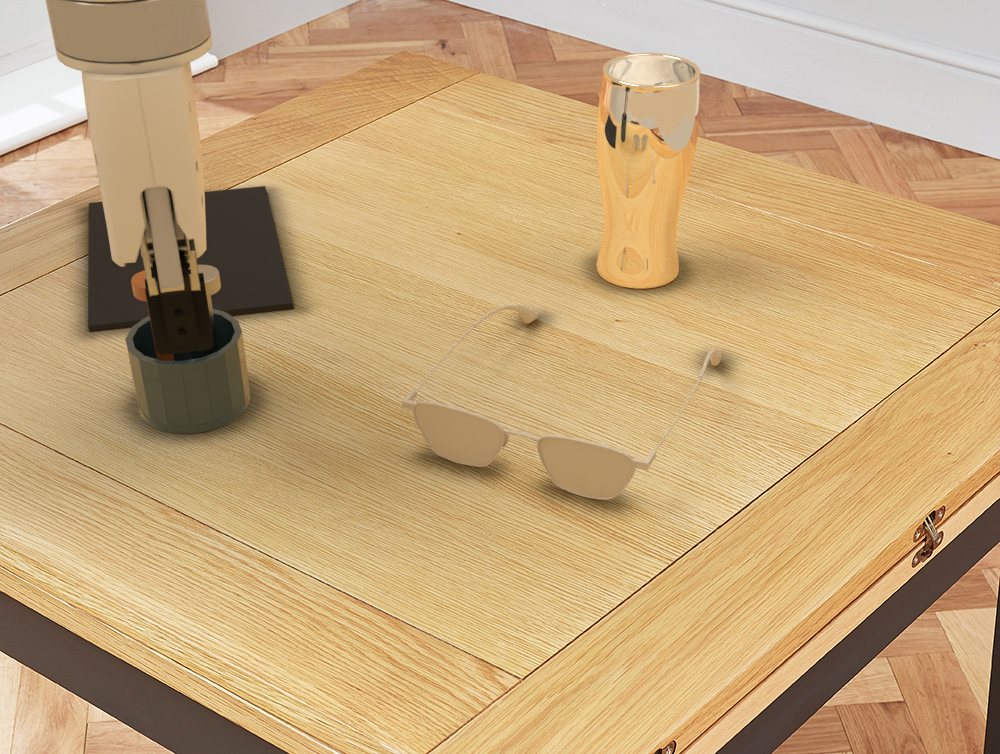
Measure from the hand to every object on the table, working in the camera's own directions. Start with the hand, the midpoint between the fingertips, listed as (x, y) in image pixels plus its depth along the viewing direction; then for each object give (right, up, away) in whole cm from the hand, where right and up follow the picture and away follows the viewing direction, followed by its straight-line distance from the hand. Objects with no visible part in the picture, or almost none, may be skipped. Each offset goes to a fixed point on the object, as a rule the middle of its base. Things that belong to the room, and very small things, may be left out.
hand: (185, 344), depth 77 cm
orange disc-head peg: (-3, -2, +9) cm, 9 cm away
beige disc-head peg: (0, -2, +9) cm, 9 cm away
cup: (-1, -3, +9) cm, 9 cm away
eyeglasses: (+23, -3, +9) cm, 24 cm away
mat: (-6, +10, +25) cm, 27 cm away
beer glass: (+28, +8, +23) cm, 37 cm away
